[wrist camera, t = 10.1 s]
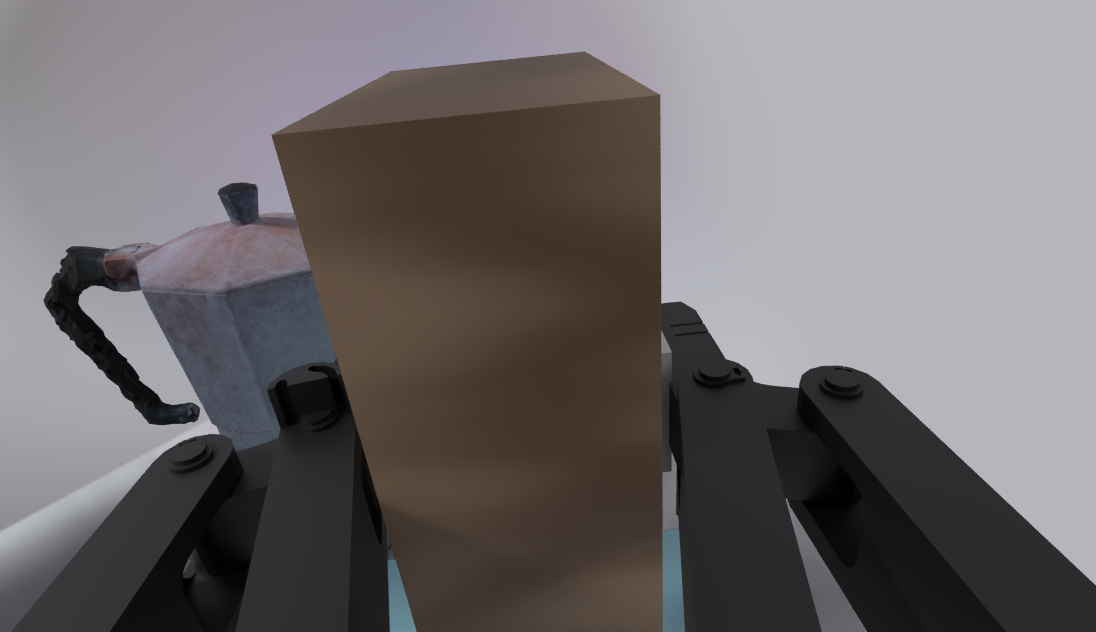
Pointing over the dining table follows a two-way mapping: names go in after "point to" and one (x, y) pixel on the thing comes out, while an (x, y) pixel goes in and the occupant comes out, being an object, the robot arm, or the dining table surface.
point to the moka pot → (209, 314)
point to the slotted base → (672, 590)
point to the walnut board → (499, 331)
